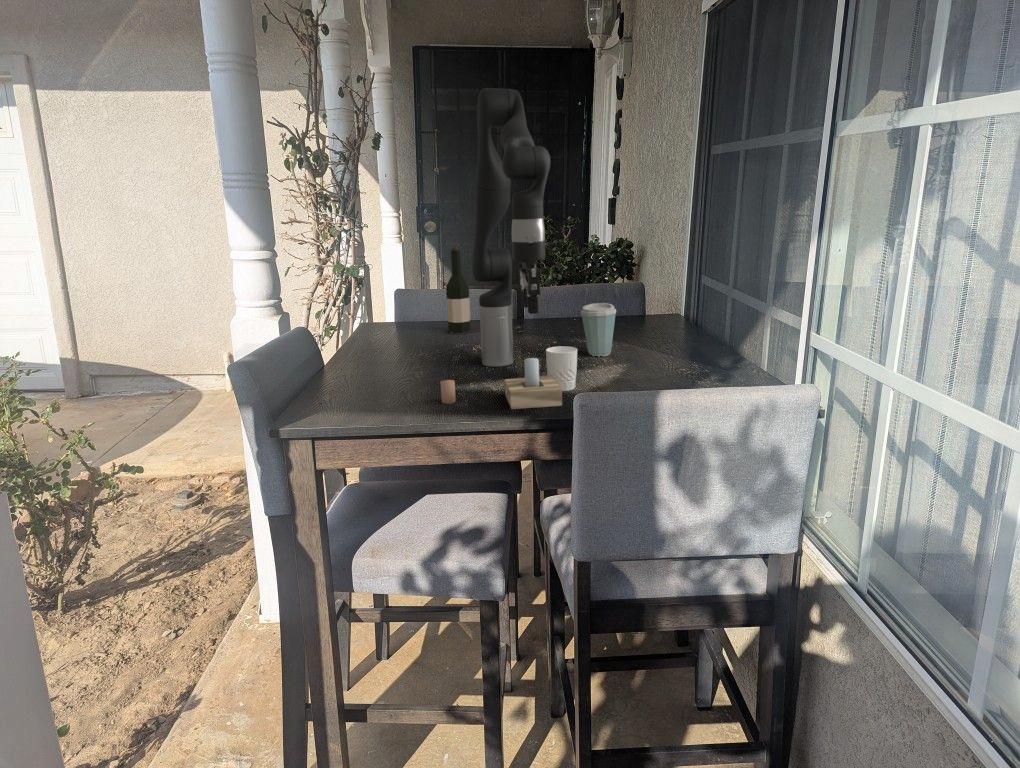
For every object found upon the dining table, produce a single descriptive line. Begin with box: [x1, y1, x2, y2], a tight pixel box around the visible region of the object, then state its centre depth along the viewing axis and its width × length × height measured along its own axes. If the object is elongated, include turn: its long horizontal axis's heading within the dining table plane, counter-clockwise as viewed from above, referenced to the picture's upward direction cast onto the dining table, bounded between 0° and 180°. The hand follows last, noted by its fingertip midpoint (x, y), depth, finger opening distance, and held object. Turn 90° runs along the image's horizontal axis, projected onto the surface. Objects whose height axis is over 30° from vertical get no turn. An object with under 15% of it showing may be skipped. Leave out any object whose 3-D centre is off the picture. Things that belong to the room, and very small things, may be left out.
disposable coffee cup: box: [580, 302, 617, 358], centre depth 213 cm, size 11×11×15 cm
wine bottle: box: [445, 247, 472, 333], centre depth 254 cm, size 8×8×30 cm
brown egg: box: [440, 379, 457, 405], centre depth 172 cm, size 3×3×5 cm
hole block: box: [504, 376, 563, 410], centre depth 171 cm, size 12×12×4 cm
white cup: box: [545, 345, 578, 392], centre depth 179 cm, size 8×8×10 cm
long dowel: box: [523, 357, 540, 388], centre depth 170 cm, size 3×3×10 cm
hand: (530, 310), depth 165 cm, fingers open, 8 cm apart
